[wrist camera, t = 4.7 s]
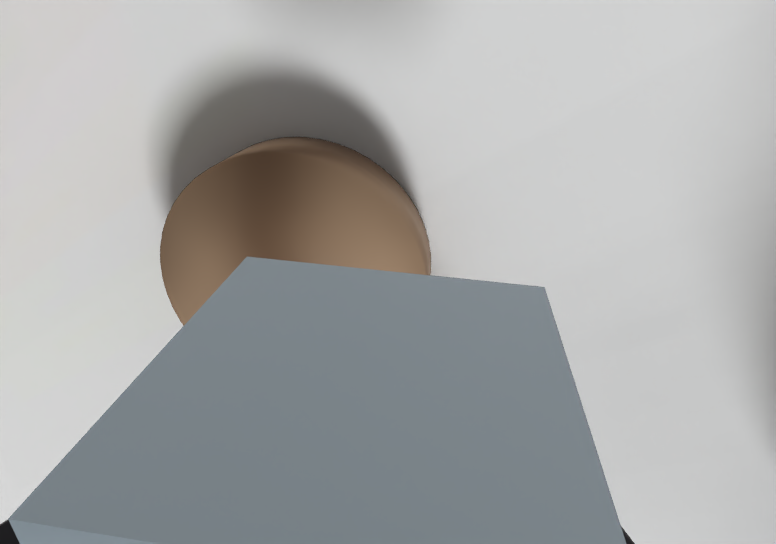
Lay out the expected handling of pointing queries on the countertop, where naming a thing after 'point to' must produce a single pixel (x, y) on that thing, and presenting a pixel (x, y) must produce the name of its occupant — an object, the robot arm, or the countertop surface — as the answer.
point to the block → (340, 423)
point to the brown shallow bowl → (288, 218)
